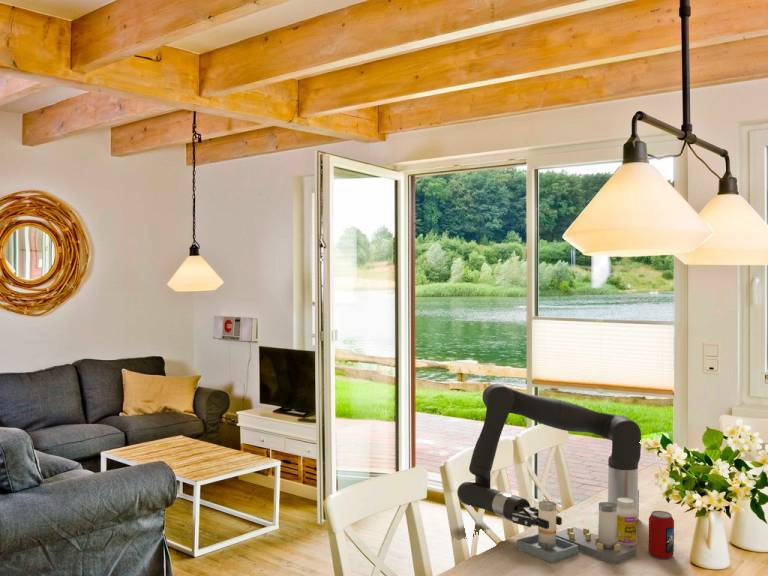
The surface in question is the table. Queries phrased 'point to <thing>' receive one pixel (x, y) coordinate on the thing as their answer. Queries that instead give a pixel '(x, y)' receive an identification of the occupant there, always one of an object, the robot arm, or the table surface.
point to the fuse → (607, 525)
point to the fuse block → (595, 545)
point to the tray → (547, 549)
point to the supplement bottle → (626, 522)
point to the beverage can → (661, 535)
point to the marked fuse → (549, 513)
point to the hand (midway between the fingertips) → (554, 523)
